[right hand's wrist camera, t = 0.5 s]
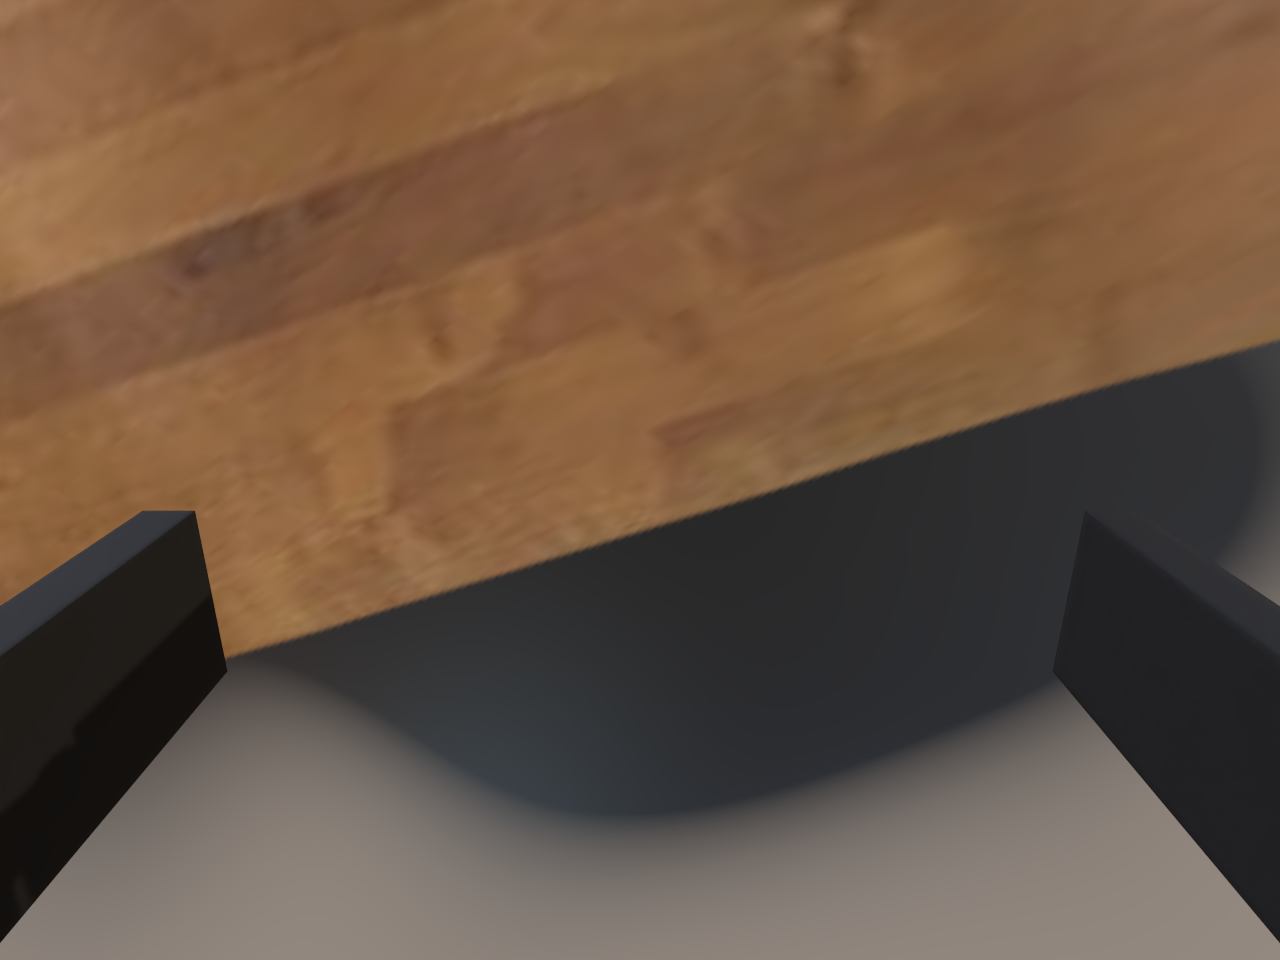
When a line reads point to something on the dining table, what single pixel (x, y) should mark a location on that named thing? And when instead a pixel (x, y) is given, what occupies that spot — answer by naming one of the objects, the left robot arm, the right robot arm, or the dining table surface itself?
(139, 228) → the dining table surface
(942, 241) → the dining table surface
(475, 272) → the dining table surface
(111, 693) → the right robot arm
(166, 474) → the dining table surface
